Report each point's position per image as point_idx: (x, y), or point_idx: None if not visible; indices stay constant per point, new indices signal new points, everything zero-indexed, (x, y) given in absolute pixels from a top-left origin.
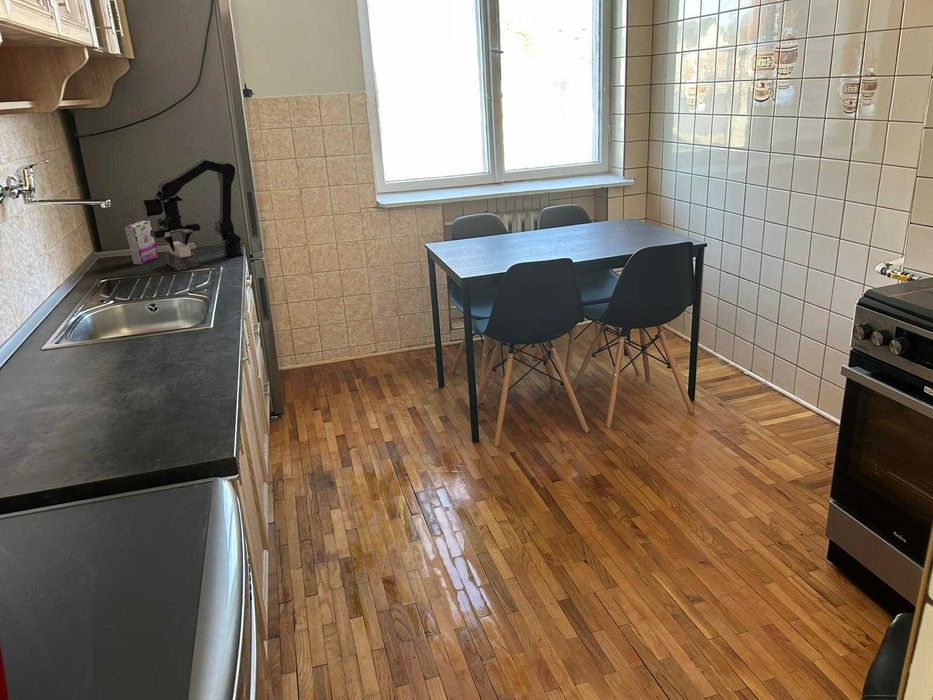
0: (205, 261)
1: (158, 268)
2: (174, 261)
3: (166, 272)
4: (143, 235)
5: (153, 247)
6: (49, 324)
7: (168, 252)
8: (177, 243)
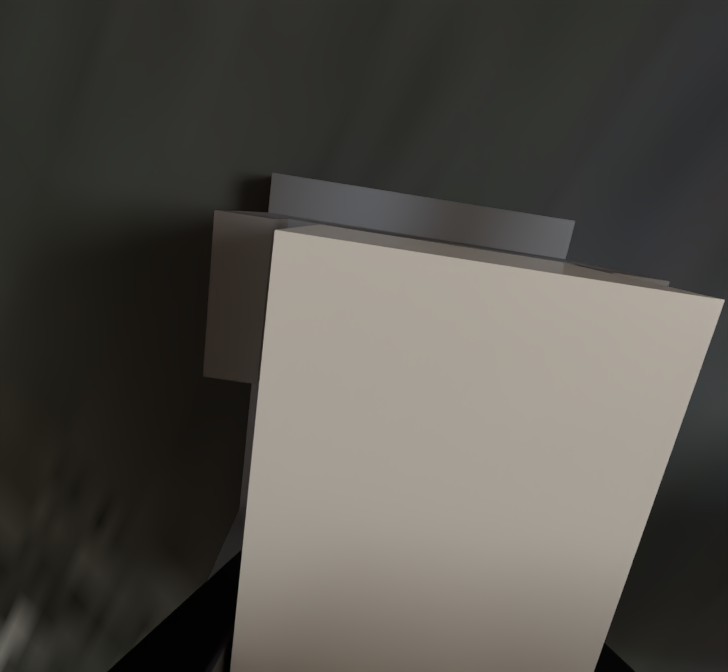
0: (657, 500)
1: (111, 270)
2: (216, 567)
3: (106, 524)
4: None
5: None
6: None
7: (255, 313)
8: (478, 586)
